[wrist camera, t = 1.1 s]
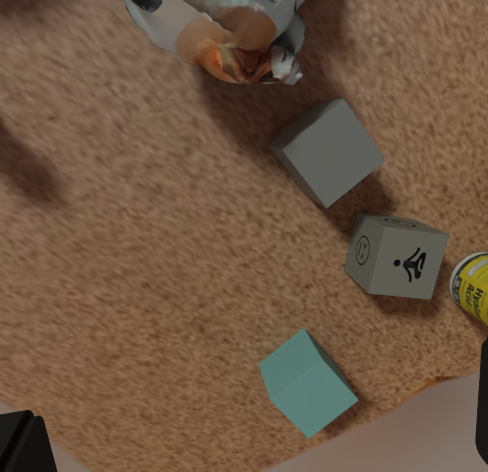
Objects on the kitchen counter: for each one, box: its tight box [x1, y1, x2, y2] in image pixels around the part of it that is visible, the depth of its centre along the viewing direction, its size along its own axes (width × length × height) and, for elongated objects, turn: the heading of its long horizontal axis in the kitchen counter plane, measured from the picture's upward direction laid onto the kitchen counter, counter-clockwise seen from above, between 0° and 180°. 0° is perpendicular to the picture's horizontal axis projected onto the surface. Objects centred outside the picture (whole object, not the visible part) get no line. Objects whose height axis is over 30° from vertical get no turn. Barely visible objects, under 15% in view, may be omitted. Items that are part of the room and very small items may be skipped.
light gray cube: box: [268, 99, 385, 208], centre depth 30 cm, size 5×5×5 cm
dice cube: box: [344, 212, 449, 300], centre depth 33 cm, size 5×5×5 cm
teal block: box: [259, 328, 358, 439], centre depth 35 cm, size 5×5×5 cm
